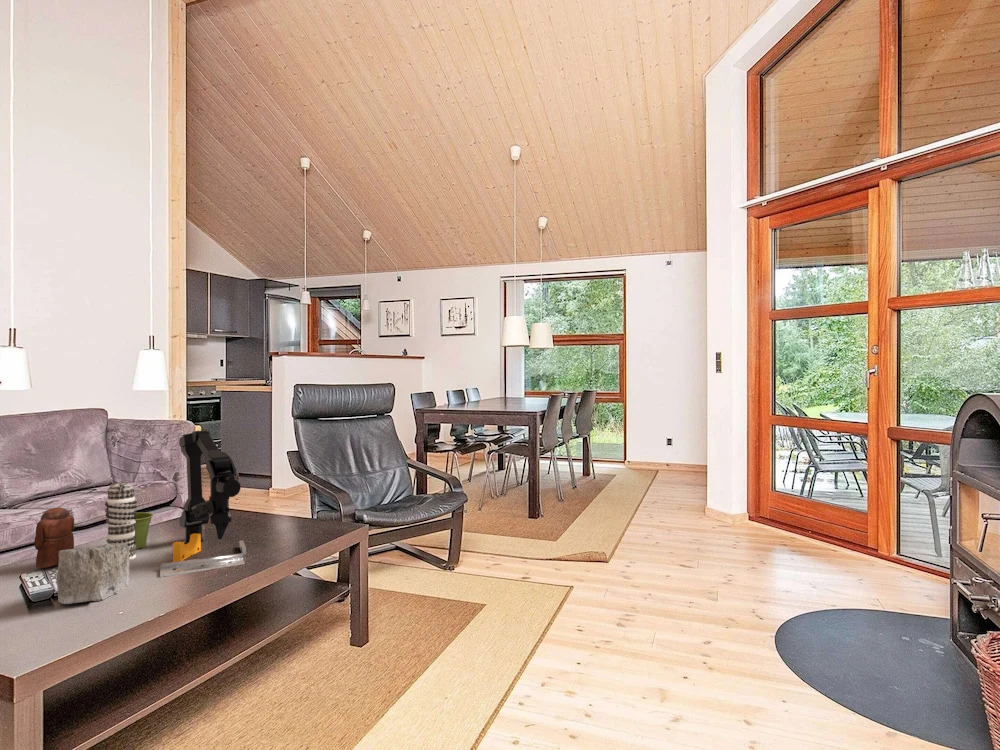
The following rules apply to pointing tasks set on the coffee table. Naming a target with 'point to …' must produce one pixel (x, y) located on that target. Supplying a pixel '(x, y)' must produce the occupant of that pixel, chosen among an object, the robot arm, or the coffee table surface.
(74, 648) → the coffee table surface
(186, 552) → the pipe clamp
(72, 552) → the petrified wood
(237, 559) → the hinge bed
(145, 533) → the plant pot
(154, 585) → the coffee table surface
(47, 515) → the wooden figurine
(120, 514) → the decorative candle
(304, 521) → the coffee table surface
